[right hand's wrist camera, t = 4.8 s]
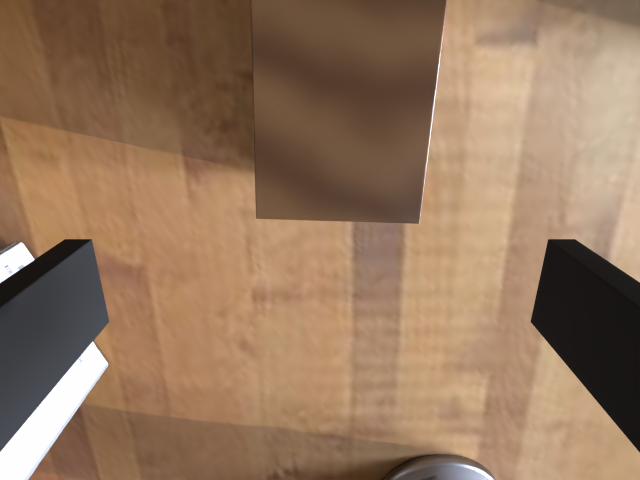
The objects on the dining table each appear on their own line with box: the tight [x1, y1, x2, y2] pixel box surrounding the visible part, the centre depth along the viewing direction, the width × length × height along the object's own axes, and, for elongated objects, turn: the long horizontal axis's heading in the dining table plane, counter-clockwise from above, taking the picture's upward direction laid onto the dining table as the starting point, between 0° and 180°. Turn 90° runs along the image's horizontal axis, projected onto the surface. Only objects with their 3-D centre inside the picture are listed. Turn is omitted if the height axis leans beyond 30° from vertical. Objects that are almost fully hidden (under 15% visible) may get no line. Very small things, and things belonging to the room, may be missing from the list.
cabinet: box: [251, 0, 447, 224], centre depth 29 cm, size 18×10×12 cm, turn 178°
